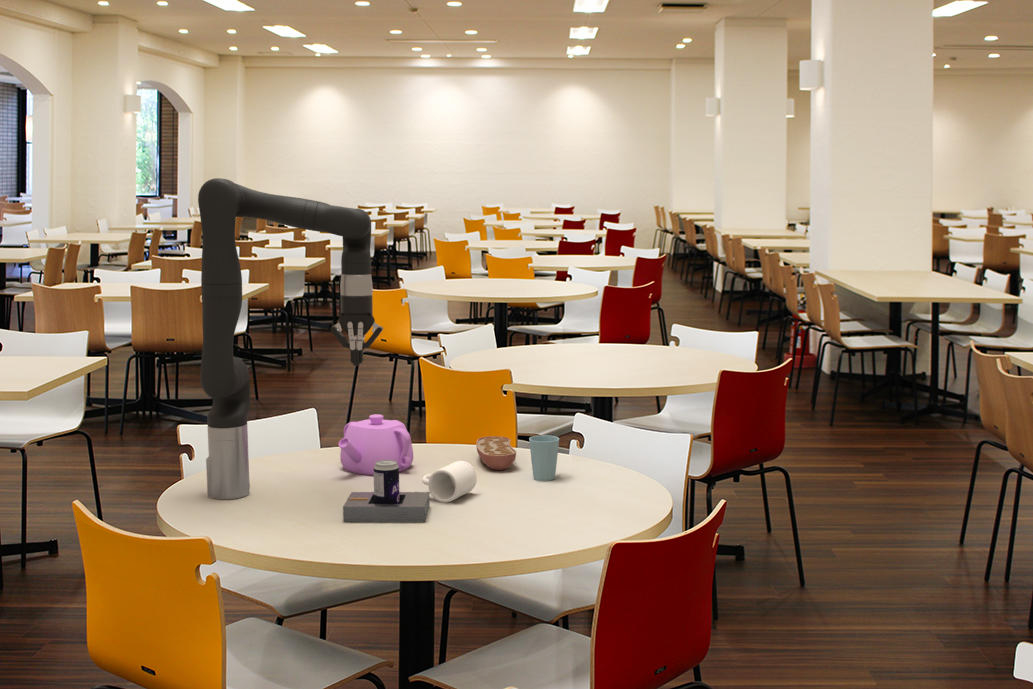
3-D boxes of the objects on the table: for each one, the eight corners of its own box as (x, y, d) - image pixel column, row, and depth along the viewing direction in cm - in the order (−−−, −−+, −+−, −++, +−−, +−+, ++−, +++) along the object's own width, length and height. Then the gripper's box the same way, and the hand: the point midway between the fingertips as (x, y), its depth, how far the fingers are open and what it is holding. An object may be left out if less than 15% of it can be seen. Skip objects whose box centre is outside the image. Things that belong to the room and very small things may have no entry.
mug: (477, 494, 258) (477, 462, 257) (457, 504, 249) (457, 471, 248) (433, 488, 263) (433, 457, 262) (413, 499, 254) (412, 466, 253)
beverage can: (395, 518, 238) (394, 466, 236) (371, 517, 239) (370, 464, 238) (402, 511, 244) (402, 460, 242) (379, 510, 245) (378, 458, 243)
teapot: (412, 458, 294) (411, 407, 292) (414, 478, 273) (413, 423, 271) (342, 461, 292) (341, 409, 290) (339, 480, 271) (337, 425, 269)
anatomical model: (518, 473, 278) (518, 454, 278) (480, 474, 277) (480, 455, 277) (508, 453, 301) (508, 435, 300) (473, 454, 300) (473, 436, 299)
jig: (343, 522, 235) (342, 505, 235) (351, 506, 247) (351, 491, 247) (424, 522, 235) (424, 505, 235) (429, 506, 247) (429, 491, 247)
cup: (533, 482, 268) (533, 442, 267) (525, 475, 276) (525, 435, 274) (562, 481, 270) (562, 440, 269) (554, 473, 277) (554, 434, 276)
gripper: (325, 294, 250) (326, 367, 253) (381, 294, 250) (382, 368, 252) (331, 291, 258) (332, 362, 260) (386, 292, 257) (386, 363, 260)
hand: (357, 365), depth 256 cm, fingers closed
